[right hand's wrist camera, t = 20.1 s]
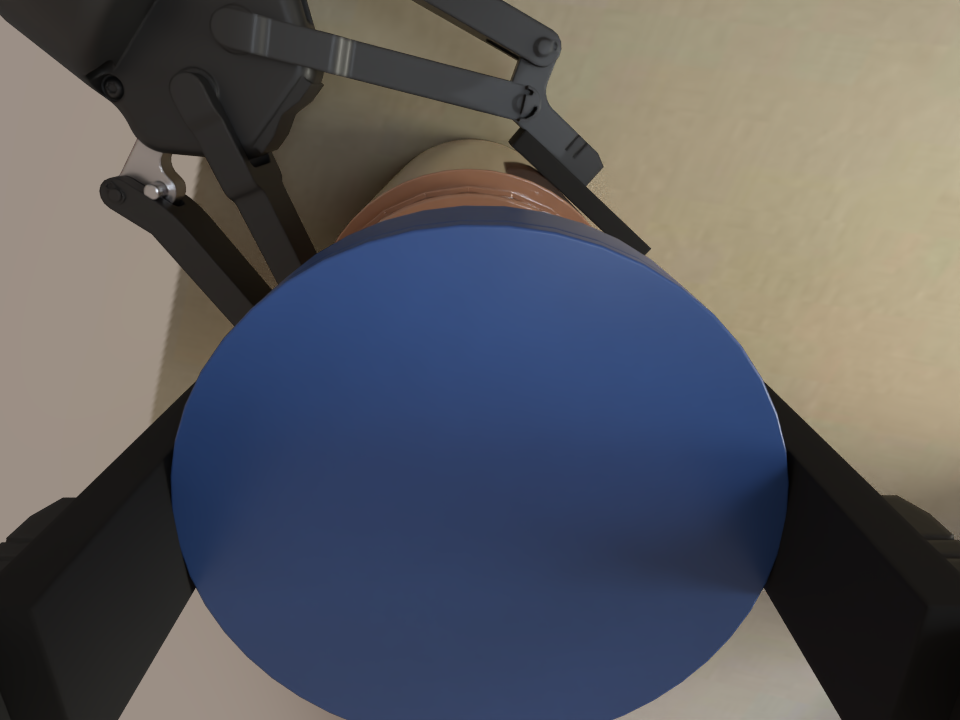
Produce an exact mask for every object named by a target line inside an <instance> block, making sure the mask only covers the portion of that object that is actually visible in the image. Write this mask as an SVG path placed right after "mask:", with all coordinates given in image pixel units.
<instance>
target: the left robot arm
mask: <svg viewBox="0 0 960 720" xmlns="http://www.w3.org/2000/svg"><path fill="white" fill-rule="evenodd" d="M412 1H414V2H416V3H418V4H419V5H421V6H423V7H425V8H426V9H428V10H430V11H432V12H433V13H435V14H437V15H439V16H440V17H442V18H444V19H446V20H447V21H449V22H451V23H452V24H454V25H456V26H458V27H459V28H461V29H463V30H465V31H466V32H468V33H470V34H472V35H473V36H475V37H477V38H479V39H480V40H482V41H484V42H486V43H487V44H489V45H491V46H493V47H494V48H496V49H498V50H500V51H501V52H503V53H505V54H507V55H508V56H510V57H512V58H514V59H515V60H517V64H516V67H515V69H514V72H513V75H512V77H511V80H510V81H508V80H504V79H500V78H497V77H493V76H489V75H485V74H481V73H477V72H474V71H470V70H466V69H462V68H458V67H454V66H451V65H447V64H443V63H439V62H435V61H431V60H428V59H424V58H420V57H416V56H412V55H408V54H405V53H401V52H397V51H393V50H389V49H385V48H382V47H378V46H374V45H370V44H366V43H362V42H359V41H355V40H351V39H348V38H345V37H341V36H338V35H334V34H330V33H326V32H322V31H319V30H315V27H314V24H313V20H312V17H311V14H310V10H309V7H308V3H307V0H0V15H1V16H2V17H3V18H4V19H5V20H6V21H7V22H8V23H9V24H11V25H12V26H13V27H15V28H16V29H17V30H18V31H20V32H21V33H22V34H23V35H25V36H26V37H27V38H29V39H30V40H31V41H32V42H34V43H35V44H36V45H37V46H39V47H40V48H41V49H43V50H44V51H45V52H46V53H48V54H49V55H50V56H51V57H53V58H54V59H55V60H56V61H58V62H59V63H60V64H62V65H63V66H64V67H65V68H67V69H68V70H69V71H70V72H72V73H73V74H74V75H76V76H77V77H78V78H79V79H81V80H82V81H83V82H84V83H86V84H87V85H88V86H90V87H91V88H92V89H94V90H95V91H97V92H98V93H99V94H101V95H102V96H104V97H105V98H106V99H108V100H109V101H111V102H112V103H113V104H114V105H115V106H116V107H117V108H118V109H119V110H120V112H121V113H122V114H123V116H124V117H125V119H126V120H127V122H128V124H129V126H130V128H131V130H132V132H133V133H134V135H135V136H136V137H137V140H136V142H135V145H134V147H133V149H132V151H131V153H130V155H129V157H128V159H127V161H126V163H125V165H124V168H123V170H122V172H121V174H120V175H119V176H117V177H112V178H109V179H107V180H104V182H103V183H102V184H101V186H100V196H101V199H102V200H103V202H104V204H106V205H107V206H108V207H109V208H110V209H112V210H114V211H115V212H117V213H118V214H120V215H122V216H123V217H125V218H127V219H128V220H130V221H131V222H133V223H135V224H136V225H138V226H140V227H141V228H143V229H144V230H146V231H148V232H149V233H151V234H152V235H153V236H154V237H155V238H156V239H157V240H158V242H159V243H160V244H161V245H162V246H163V247H164V248H165V249H166V250H167V252H168V253H169V254H170V255H171V256H172V257H173V258H174V259H175V261H176V262H177V263H178V264H179V265H180V266H181V267H182V268H183V269H184V271H185V272H186V273H187V274H188V275H189V276H190V277H191V278H192V280H193V281H194V282H195V283H196V284H197V285H198V286H199V287H200V288H201V290H202V291H203V292H204V293H205V294H206V295H207V296H208V297H209V298H210V300H211V301H212V302H213V303H214V304H215V305H216V306H217V307H218V309H219V310H220V311H221V312H222V313H223V314H224V315H225V316H226V317H227V319H228V320H229V321H230V322H231V323H232V324H233V325H234V326H235V325H236V324H237V323H238V322H239V321H240V320H241V319H242V318H243V317H244V316H245V315H246V314H247V313H248V312H249V311H250V309H251V308H253V307H254V306H255V305H256V304H257V303H258V302H259V301H260V300H262V299H263V298H264V297H265V296H266V295H267V294H268V293H269V292H271V291H272V289H271V288H270V287H269V286H268V285H267V284H266V282H265V281H264V280H263V279H262V278H261V276H260V275H259V274H258V273H257V272H256V271H255V269H254V268H253V267H252V266H251V265H250V264H249V262H248V261H247V260H246V259H245V258H244V256H243V255H242V254H241V253H240V252H239V251H238V249H237V248H236V247H235V246H234V245H233V244H232V242H231V241H230V240H229V239H228V238H227V237H226V235H225V234H224V233H223V232H222V231H221V229H220V228H219V227H218V226H217V225H216V224H215V222H214V221H213V220H212V219H211V218H210V217H209V215H208V214H207V213H206V212H205V211H204V210H203V209H202V208H201V207H200V206H199V205H198V204H197V203H196V202H194V201H193V200H192V199H191V198H190V197H188V196H187V195H185V193H186V185H185V182H184V180H183V179H182V178H181V177H180V176H179V175H178V174H177V173H176V172H175V170H174V168H173V166H172V163H171V156H172V154H179V155H190V156H200V157H206V159H207V161H208V163H209V165H210V167H211V168H212V170H213V172H214V174H215V176H216V178H217V180H218V182H219V184H220V186H221V187H222V189H223V191H224V193H225V194H226V195H227V197H228V198H229V199H231V200H232V201H234V202H235V204H236V205H237V207H238V209H239V211H240V212H241V214H242V216H243V218H244V220H245V222H246V224H247V226H248V228H249V230H250V232H251V234H252V235H253V237H254V239H255V241H256V243H257V245H258V247H259V249H260V251H261V253H262V255H263V256H264V258H265V260H266V262H267V264H268V266H269V268H270V270H271V272H272V274H273V276H274V277H275V279H276V281H277V283H278V284H280V283H281V282H282V281H283V280H284V279H285V278H286V277H288V276H289V275H290V274H291V273H293V272H294V271H295V270H296V269H298V268H299V267H300V266H301V265H303V264H304V263H305V262H306V261H308V260H309V259H310V258H312V257H313V256H314V255H315V254H317V253H316V251H315V249H314V247H313V245H312V243H311V241H310V238H309V236H308V234H307V232H306V230H305V228H304V226H303V224H302V222H301V220H300V218H299V216H298V214H297V212H296V210H295V208H294V206H293V204H292V202H291V200H290V198H289V196H288V194H287V192H286V189H285V187H284V185H283V182H282V175H281V171H280V169H279V167H278V165H277V163H276V161H275V158H274V156H273V154H272V152H271V151H273V150H277V149H278V148H279V147H280V145H281V144H282V143H283V141H284V140H285V138H286V137H287V136H288V134H289V132H290V129H291V126H292V123H293V120H294V118H295V115H296V114H297V113H298V112H299V111H300V110H301V109H303V108H304V107H305V106H307V105H308V104H309V103H311V102H312V101H313V99H314V98H315V97H316V95H317V94H318V92H319V91H320V90H321V88H322V87H323V86H324V85H323V84H322V83H321V81H322V78H323V73H324V72H326V73H330V74H334V75H338V76H343V77H347V78H351V79H355V80H359V81H363V82H366V83H370V84H374V85H378V86H382V87H386V88H390V89H394V90H398V91H402V92H406V93H410V94H414V95H418V96H421V97H425V98H429V99H433V100H437V101H441V102H445V103H449V104H453V105H457V106H461V107H465V108H469V109H472V110H476V111H480V112H484V113H488V114H492V115H496V116H500V117H504V118H508V119H512V120H513V121H514V122H515V123H516V124H517V125H519V126H520V128H519V129H518V131H517V132H516V133H515V134H514V135H513V136H512V138H511V139H510V140H509V141H508V142H509V143H510V145H511V146H512V147H513V148H514V149H515V150H516V151H517V152H519V153H520V154H521V155H522V156H523V157H524V158H525V159H526V160H527V161H528V162H529V163H530V164H531V165H532V166H533V167H535V168H536V169H537V170H538V171H539V172H540V173H541V174H542V175H543V176H544V177H545V178H546V179H547V180H548V181H550V182H551V183H552V184H553V185H554V186H555V187H556V188H557V189H558V190H559V191H560V192H561V193H562V194H563V195H564V196H566V197H567V198H568V199H569V200H570V201H571V202H572V203H573V204H574V205H575V206H576V207H577V208H578V209H579V210H581V211H582V212H583V213H584V214H585V215H586V216H587V217H588V218H589V219H590V220H591V221H592V222H593V223H594V224H595V225H597V226H598V227H599V228H600V229H601V230H602V231H603V232H604V233H606V234H608V235H610V236H613V237H615V238H617V239H619V240H621V241H622V242H624V243H625V244H627V245H629V246H630V247H632V248H633V249H635V250H637V251H638V252H640V253H641V254H643V255H645V254H646V253H647V252H648V251H649V250H650V249H651V248H650V247H649V246H648V245H647V244H646V243H645V242H644V241H643V240H642V239H640V238H639V237H638V236H637V235H636V234H635V233H634V232H633V231H632V230H631V229H630V228H629V227H628V226H627V225H626V224H625V223H624V222H623V221H622V220H621V219H619V218H618V217H617V216H616V215H615V214H614V213H613V212H612V211H611V210H610V209H609V208H608V207H607V206H606V205H605V204H604V203H603V202H602V201H601V200H600V199H598V198H597V197H596V196H595V195H594V194H593V193H592V192H591V191H590V190H589V189H588V188H587V187H586V186H587V185H588V183H589V182H590V181H591V180H592V179H593V178H594V177H595V176H596V175H597V174H598V172H599V171H600V170H601V169H602V168H603V164H602V162H601V159H600V157H599V155H598V153H597V152H596V151H595V150H594V149H593V148H592V147H591V146H590V145H589V144H588V143H587V142H586V141H585V140H584V139H583V138H582V137H581V136H580V135H579V134H578V133H577V132H576V131H575V130H574V129H573V128H572V127H570V126H569V125H568V124H567V123H566V122H565V121H564V120H563V119H562V118H561V117H560V116H559V115H558V114H557V113H556V112H555V111H554V110H553V109H552V108H551V106H550V105H549V103H548V101H547V97H546V86H547V83H548V80H549V77H550V75H551V72H552V70H553V67H554V65H555V62H556V60H557V58H558V57H559V55H560V52H561V41H560V38H559V36H558V34H556V33H555V32H554V31H553V30H552V29H550V28H548V27H547V26H545V25H543V24H542V23H540V22H538V21H537V20H535V19H533V18H531V17H530V16H528V15H526V14H525V13H523V12H521V11H520V10H518V9H516V8H515V7H513V6H511V5H509V4H508V3H506V2H504V1H503V0H412Z"/></svg>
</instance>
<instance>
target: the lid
mask: <svg viewBox="0 0 960 720" xmlns="http://www.w3.org/2000/svg"><path fill="white" fill-rule="evenodd" d="M788 489H789V480H788V468H787V456H786V447H785V443H784V439H783V435H782V431H781V427H780V423H779V419H778V415H777V412H776V410H775V407H774V405H773V403H772V400H771V398H770V396H769V393H768V391H767V389H766V386H765V384H764V382H763V379H762V378H761V376H760V374H759V373H758V371H757V370H756V368H755V366H754V365H753V363H752V362H751V360H750V359H749V357H748V355H747V354H746V352H745V351H744V349H743V347H742V346H741V345H740V344H739V342H738V341H737V340H736V339H735V338H734V337H733V336H732V334H731V333H730V332H729V331H728V330H727V329H726V328H725V326H724V325H723V324H722V323H721V322H720V321H719V320H718V318H717V317H716V316H715V315H714V314H713V313H712V312H711V311H710V310H708V309H707V308H706V307H705V306H704V305H703V304H702V303H701V302H699V301H698V300H697V299H696V298H695V297H694V296H693V295H692V294H690V293H689V292H688V291H687V290H686V289H685V288H684V287H683V286H682V285H680V284H679V283H678V282H677V281H676V280H675V279H673V278H672V277H671V276H670V275H669V274H668V273H666V272H665V271H664V270H663V269H662V268H660V267H659V266H658V265H657V264H656V263H655V262H653V261H652V260H651V259H649V258H648V257H646V256H645V255H643V254H641V253H640V252H638V251H637V250H635V249H633V248H632V247H630V246H629V245H627V244H625V243H624V242H622V241H621V240H619V239H617V238H615V237H613V236H610V235H608V234H606V233H604V232H601V231H599V230H597V229H595V228H592V227H590V226H588V225H586V224H583V223H580V222H577V221H573V220H570V219H567V218H563V217H560V216H556V215H553V214H549V213H546V212H540V211H534V210H527V209H520V208H514V207H507V206H456V207H447V208H439V209H430V210H423V211H419V212H415V213H411V214H407V215H403V216H400V217H396V218H392V219H388V220H384V221H382V222H379V223H377V224H375V225H372V226H370V227H367V228H365V229H362V230H360V231H357V232H355V233H353V234H350V235H348V236H346V237H344V238H343V239H341V240H339V241H338V242H336V243H334V244H332V245H331V246H329V247H327V248H326V249H324V250H322V251H320V252H319V253H317V254H315V255H314V256H313V257H312V258H310V259H309V260H308V261H306V262H305V263H304V264H303V265H301V266H300V267H299V268H298V269H296V270H295V271H294V272H293V273H291V274H290V275H289V276H288V277H286V278H285V279H284V280H283V281H282V282H281V283H280V284H278V285H277V286H276V287H275V288H274V289H273V290H272V291H271V292H269V293H268V294H267V295H266V296H265V297H264V298H263V299H262V300H260V301H259V302H258V303H257V304H256V305H255V306H254V307H253V308H251V309H250V311H249V312H248V313H247V314H246V315H245V316H244V317H243V318H242V319H241V320H240V321H239V322H238V323H237V324H236V325H235V327H234V328H233V329H232V330H231V331H230V332H229V333H228V334H227V335H226V336H225V337H224V338H223V340H222V341H221V343H220V344H219V346H218V347H217V348H216V350H215V351H214V353H213V354H212V356H211V357H210V359H209V360H208V362H207V363H206V365H205V366H204V368H203V369H202V371H201V372H200V374H199V377H198V379H197V381H196V383H195V385H194V387H193V389H192V391H191V394H190V396H189V398H188V400H187V402H186V404H185V407H184V410H183V414H182V417H181V421H180V424H179V428H178V431H177V435H176V438H175V443H174V451H173V460H172V468H171V500H172V510H173V515H174V520H175V524H176V529H177V534H178V539H179V543H180V548H181V552H182V556H183V558H184V561H185V564H186V567H187V570H188V572H189V575H190V577H191V579H192V581H193V583H194V585H195V587H196V589H197V591H198V592H199V594H200V596H201V598H202V600H203V602H204V604H205V606H206V607H207V608H208V610H209V611H210V613H211V614H212V615H213V617H214V618H215V620H216V621H217V622H218V624H219V625H220V627H221V628H222V629H223V631H224V632H225V633H226V634H227V635H228V637H229V638H230V639H231V640H232V641H233V642H234V643H235V644H236V645H237V646H238V647H239V648H240V650H241V651H242V652H243V653H244V654H245V655H246V656H247V657H248V658H249V659H250V660H252V661H253V662H254V663H255V664H256V665H257V666H259V667H260V668H261V669H262V670H263V671H265V672H266V673H267V674H268V675H269V676H270V677H271V678H273V679H274V680H276V681H277V682H279V683H280V684H282V685H283V686H285V687H286V688H287V689H289V690H291V691H292V692H293V693H295V694H296V695H298V696H299V697H301V698H303V699H305V700H307V701H309V702H310V703H312V704H314V705H316V706H318V707H320V708H322V709H324V710H326V711H327V712H329V713H332V714H334V715H337V716H339V717H341V718H344V719H346V720H613V719H616V718H618V717H621V716H624V715H626V714H628V713H630V712H632V711H633V710H635V709H637V708H639V707H641V706H643V705H645V704H647V703H649V702H651V701H653V700H655V699H656V698H658V697H660V696H661V695H663V694H664V693H666V692H667V691H669V690H670V689H672V688H673V687H675V686H677V685H678V684H680V683H681V682H683V681H684V680H685V679H686V678H687V677H689V676H690V675H691V674H692V673H694V672H695V671H696V670H697V669H698V668H700V667H701V666H702V665H703V664H705V663H706V662H707V661H708V660H709V659H710V658H711V657H712V656H713V655H714V654H715V653H716V652H717V651H718V650H719V649H720V648H721V647H722V646H723V645H724V644H725V643H726V642H727V640H728V639H729V638H730V637H731V636H732V635H733V633H734V632H735V631H736V629H737V628H738V627H739V625H740V624H741V623H742V621H743V620H744V619H745V617H746V616H747V615H748V613H749V612H750V611H751V609H752V607H753V605H754V604H755V602H756V600H757V598H758V597H759V595H760V593H761V591H762V589H763V588H764V586H765V584H766V582H767V580H768V577H769V575H770V572H771V570H772V567H773V565H774V562H775V559H776V557H777V554H778V550H779V545H780V541H781V536H782V532H783V527H784V522H785V518H786V512H787V502H788Z"/></svg>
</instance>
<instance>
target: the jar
mask: <svg viewBox="0 0 960 720" xmlns="http://www.w3.org/2000/svg"><path fill="white" fill-rule="evenodd" d="M456 206H507V207H514V208H520V209H527V210H534V211H540V212H546V213H549V214H553V215H556V216H560V217H563V218H567V219H570V220H573V221H577V222H580V223H583V224H586V225H588V226H590V227H591V225H590V224H589V223H588V222H587V220H586V219H585V218H584V217H583V216H582V215H581V214H580V213H579V211H578V210H577V209H576V208H575V207H574V206H573V205H572V204H571V203H570V202H569V201H568V200H567V199H566V198H565V196H564V195H563V194H562V193H561V192H560V191H559V190H558V189H557V188H556V187H555V186H554V185H553V184H552V183H551V182H550V181H548V180H547V179H546V178H545V177H544V176H543V175H542V174H541V173H540V172H539V171H538V170H537V169H536V168H535V167H533V166H532V165H531V164H530V163H529V162H528V161H527V160H526V159H525V158H524V157H523V156H522V155H521V154H520V153H519V152H517V151H515V150H513V149H511V148H509V147H507V146H504V145H501V144H498V143H496V142H491V141H486V140H478V139H463V140H454V141H450V142H445V143H442V144H439V145H437V146H434V147H432V148H430V149H428V150H426V151H424V152H422V153H420V154H419V155H418V156H416V157H415V158H414V159H412V160H411V161H410V162H409V163H408V164H407V165H406V166H404V167H403V168H402V169H401V170H400V171H399V172H398V173H397V174H396V175H395V176H394V177H393V178H392V179H391V180H390V181H389V182H388V183H387V184H386V185H385V186H384V187H383V189H382V190H381V191H380V192H379V193H378V194H377V195H376V196H375V197H374V198H373V199H372V200H371V201H370V202H369V203H368V204H367V205H366V206H365V207H364V208H363V209H362V210H361V211H360V212H359V213H358V214H357V215H356V216H355V217H354V218H353V219H352V220H351V221H350V222H349V224H348V225H347V226H346V227H345V229H344V230H343V231H342V233H341V234H340V235H339V236H338V238H337V240H336V242H338V241H339V240H341V239H343V238H344V237H346V236H348V235H350V234H353V233H355V232H357V231H360V230H362V229H365V228H367V227H370V226H372V225H375V224H377V223H379V222H382V221H384V220H388V219H392V218H396V217H400V216H403V215H407V214H411V213H415V212H419V211H423V210H430V209H439V208H447V207H456ZM336 242H335V243H336Z"/></svg>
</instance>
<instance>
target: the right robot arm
mask: <svg viewBox="0 0 960 720" xmlns="http://www.w3.org/2000/svg"><path fill="white" fill-rule="evenodd" d="M763 382H764V381H763ZM195 383H196V382H195ZM195 383H194V384H193V385H192V386H191V387H190V388H189V389H188V390H187V391H185V392H184V393H183V394H182V395H181V396H180V397H179V398H178V399H177V400H176V401H175V402H174V403H173V404H172V405H171V406H170V407H169V408H168V409H167V410H166V411H165V412H164V413H163V414H162V415H161V416H160V417H159V418H158V419H157V420H156V421H155V422H154V423H153V424H152V425H151V426H149V427H148V428H147V429H146V430H145V431H144V432H143V433H142V434H141V435H140V436H139V437H138V438H137V439H136V440H135V441H134V442H133V443H132V444H131V445H130V446H129V447H128V448H127V449H126V450H125V451H124V452H123V453H122V454H121V455H120V456H119V457H118V458H117V459H116V460H115V461H114V462H112V463H111V464H110V465H109V466H108V467H107V468H106V469H105V470H104V471H103V472H102V473H101V474H100V475H99V476H98V477H97V478H96V479H95V480H94V481H93V482H92V483H91V484H90V485H89V486H88V487H87V488H86V489H85V490H84V491H83V492H82V493H81V494H80V495H79V496H78V497H76V498H62V499H60V500H58V501H56V502H55V503H53V504H51V505H49V506H47V507H46V508H44V509H42V510H40V511H39V512H37V513H35V514H33V515H32V516H30V517H29V518H28V519H27V520H26V521H25V522H23V523H22V524H21V525H20V526H19V527H18V528H17V529H16V530H15V531H14V532H13V533H11V534H10V535H9V536H8V537H7V538H6V539H7V540H6V542H2V543H1V544H0V720H118V719H119V717H120V716H121V714H122V712H123V710H124V709H125V707H126V705H127V704H128V702H129V700H130V699H131V697H132V695H133V693H134V692H135V690H136V688H137V687H138V685H139V683H140V682H141V680H142V678H143V676H144V675H145V673H146V671H147V670H148V668H149V666H150V664H151V663H152V661H153V659H154V658H155V656H156V654H157V653H158V651H159V649H160V647H161V646H162V644H163V642H164V641H165V639H166V637H167V636H168V634H169V632H170V630H171V629H172V627H173V625H174V624H175V622H176V620H177V619H178V617H179V615H180V614H181V612H182V610H183V608H184V607H185V605H186V603H187V602H188V600H189V598H190V597H191V595H192V593H193V591H194V590H195V588H196V587H195V585H194V583H193V581H192V579H191V577H190V575H189V572H188V570H187V567H186V564H185V561H184V558H183V556H182V552H181V548H180V543H179V539H178V534H177V529H176V524H175V520H174V515H173V510H172V500H171V468H172V460H173V451H174V443H175V438H176V435H177V431H178V428H179V424H180V421H181V417H182V414H183V410H184V407H185V404H186V402H187V400H188V398H189V396H190V394H191V391H192V389H193V387H194V385H195ZM764 384H765V386H766V389H767V391H768V393H769V396H770V398H771V400H772V403H773V405H774V407H775V410H776V412H777V415H778V419H779V423H780V427H781V431H782V435H783V439H784V443H785V447H786V456H787V468H788V480H789V489H788V502H787V512H786V518H785V522H784V527H783V532H782V536H781V541H780V545H779V550H778V554H777V557H776V559H775V562H774V565H773V567H772V570H771V572H770V575H769V577H768V580H767V582H766V584H765V586H764V589H765V590H766V592H767V594H768V596H769V597H770V599H771V601H772V602H773V604H774V606H775V607H776V609H777V611H778V613H779V614H780V616H781V618H782V619H783V621H784V623H785V624H786V626H787V628H788V630H789V631H790V633H791V635H792V636H793V638H794V640H795V641H796V643H797V645H798V647H799V648H800V650H801V652H802V653H803V655H804V657H805V658H806V660H807V662H808V664H809V665H810V667H811V669H812V670H813V672H814V674H815V675H816V677H817V679H818V681H819V682H820V684H821V686H822V687H823V689H824V691H825V692H826V694H827V696H828V698H829V699H830V701H831V703H832V704H833V706H834V708H835V709H836V711H837V713H838V714H839V716H840V718H841V720H960V541H959V540H954V535H952V534H951V533H950V532H949V531H948V530H947V529H946V528H945V527H944V526H943V525H941V524H940V523H939V522H938V521H937V520H936V519H935V518H934V517H933V516H932V515H930V514H929V513H927V512H925V511H924V510H922V509H920V508H918V507H917V506H915V505H913V504H911V503H910V502H908V501H906V500H904V499H902V498H901V497H899V496H897V495H880V494H879V493H878V492H877V491H876V490H875V489H874V488H873V487H872V486H871V485H870V484H869V483H868V482H867V481H866V480H865V479H864V478H862V477H861V476H860V475H859V474H858V473H857V472H856V471H855V470H854V469H853V468H852V467H851V466H850V465H849V464H848V463H847V462H846V461H845V460H844V459H843V458H842V457H841V456H840V455H839V454H838V453H837V452H836V451H835V450H834V449H833V448H832V447H831V446H830V445H829V444H828V443H827V442H825V441H824V440H823V439H822V438H821V437H820V436H819V435H818V434H817V433H816V432H815V431H814V430H813V429H812V428H811V427H810V426H809V425H808V424H807V423H806V422H805V421H804V420H803V419H802V418H801V417H800V416H799V415H798V414H797V413H796V412H795V411H794V410H793V409H792V408H791V407H790V406H788V405H787V404H786V403H785V402H784V401H783V400H782V399H781V398H780V397H779V396H778V395H777V394H776V393H775V392H774V391H773V390H772V389H771V388H770V387H769V386H768V385H767V384H766V383H765V382H764Z"/></svg>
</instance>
